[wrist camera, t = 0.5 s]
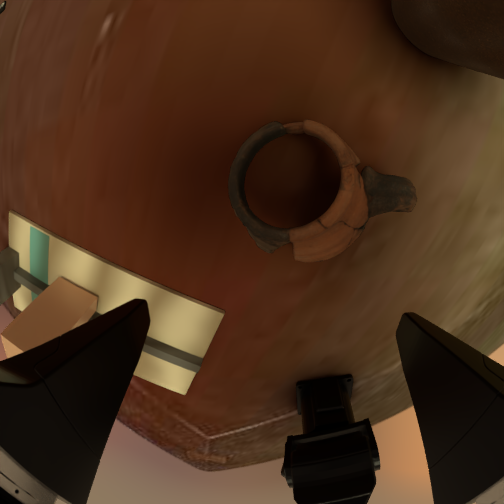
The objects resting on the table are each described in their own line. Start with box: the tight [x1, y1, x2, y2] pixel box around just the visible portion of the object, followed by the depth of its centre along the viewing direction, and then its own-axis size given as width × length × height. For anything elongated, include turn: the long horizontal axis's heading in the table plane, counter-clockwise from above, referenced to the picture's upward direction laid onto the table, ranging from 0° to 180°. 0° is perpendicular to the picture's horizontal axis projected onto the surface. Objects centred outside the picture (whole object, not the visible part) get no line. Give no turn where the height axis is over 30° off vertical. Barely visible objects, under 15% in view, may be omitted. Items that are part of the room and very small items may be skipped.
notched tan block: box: [0, 277, 98, 358], centre depth 21 cm, size 5×6×10 cm
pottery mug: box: [228, 119, 417, 262], centre depth 18 cm, size 12×10×8 cm
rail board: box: [0, 210, 225, 395], centre depth 24 cm, size 26×14×6 cm, turn 67°
